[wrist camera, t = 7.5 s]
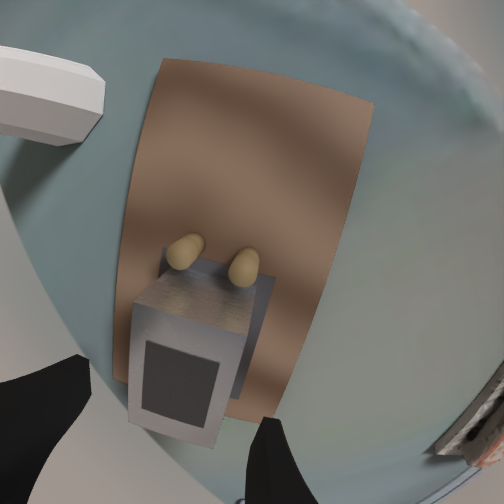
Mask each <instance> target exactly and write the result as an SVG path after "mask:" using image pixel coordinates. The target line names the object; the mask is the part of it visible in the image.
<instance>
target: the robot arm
mask: <svg viewBox="0 0 504 504" xmlns="http://www.w3.org/2000/svg"><path fill="white" fill-rule="evenodd" d="M90 396H91V382H90V368H89V359H87V358H85V357H82V356H80V355H78V354H76V355H74V356H71V357H69V358H67V359H65V360H62V361H60V362H58V363H55V364H53V365H51V366H48V367H46V368H44V369H41V370H39V371H36V372H34V373H31V374H28V375H25V376H22V377H19V378H16V379H13V380H9V381H6V382H1V383H0V504H27V502H28V499H29V496H30V494H31V491H32V489H33V487H34V484H35V482H36V480H37V478H38V476H39V474H40V472H41V470H42V468H43V466H44V464H45V462H46V460H47V458H48V457H49V455H50V453H51V452H52V450H53V449H54V447H55V446H56V444H57V443H58V442H59V440H60V439H61V438H62V436H63V435H64V434H65V433H66V431H67V430H68V429H69V428H70V426H71V425H72V424H73V423H74V421H75V420H76V419H77V417H78V416H79V415H80V413H81V412H82V410H83V409H84V407H85V405H86V404H87V402H88V400H89V398H90ZM239 504H318V502H317V501H316V499H315V498H314V496H313V495H312V493H311V491H310V490H309V488H308V486H307V485H306V483H305V481H304V479H303V477H302V475H301V473H300V471H299V469H298V467H297V465H296V463H295V460H294V458H293V456H292V453H291V451H290V448H289V446H288V443H287V440H286V437H285V434H284V431H283V427H282V424H281V421H280V420H279V419H275V418H270V417H265V416H264V417H263V419H262V421H261V424H260V426H259V428H258V431H257V433H256V435H255V437H254V440H253V442H252V444H251V447H250V452H249V457H248V463H247V468H246V486H245V500H241V501H240V503H239Z"/></svg>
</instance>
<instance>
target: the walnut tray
mask: <svg viewBox="0 0 504 504" xmlns="http://www.w3.org/2000/svg"><path fill="white" fill-rule="evenodd" d="M374 105H375V104H373V103H371V102H368V101H365V100H362V99H359V98H357V97H354V96H351V95H348V94H345V93H342V92H339V91H335V90H332V89H329V88H326V87H322V86H319V85H315V84H312V83H308V82H304V81H300V80H297V79H293V78H289V77H284V76H280V75H276V74H271V73H267V72H262V71H257V70H252V69H246V68H241V67H235V66H229V65H222V64H215V63H208V62H200V61H191V60H180V59H168V58H163V60H162V63H161V66H160V69H159V72H158V76H157V79H156V82H155V85H154V89H153V92H152V95H151V99H150V102H149V106H148V109H147V113H146V117H145V121H144V124H143V128H142V132H141V136H140V141H139V145H138V149H137V154H136V158H135V163H134V168H133V173H132V178H131V183H130V188H129V194H128V199H127V205H126V211H125V218H124V224H123V231H122V239H121V246H120V255H119V264H118V274H117V285H116V298H115V313H114V337H113V379H115V380H118V381H120V382H123V383H125V384H128V378H129V352H130V335H131V321H132V310H133V301H134V300H135V299H136V298H138V297H139V296H140V295H141V294H142V293H143V292H144V291H145V290H146V289H147V288H149V287H150V286H151V285H152V284H153V283H154V282H155V281H156V280H157V279H158V278H160V277H161V276H162V275H163V274H164V273H165V272H166V271H167V270H169V269H170V268H171V267H173V268H174V269H177V270H184V269H186V268H189V269H192V270H196V271H199V272H203V273H206V274H210V275H214V276H217V277H221V278H225V279H228V280H231V282H232V283H233V284H234V285H236V286H238V287H248V286H250V285H251V286H254V287H257V288H256V293H255V299H254V304H253V309H252V315H251V320H250V325H249V331H248V336H247V339H246V343H245V346H244V349H243V353H242V356H241V360H240V363H239V366H238V370H237V373H236V377H235V380H234V383H233V387H232V390H231V393H230V397H229V400H228V403H227V406H226V410H225V413H224V416H228V417H232V418H237V419H241V420H245V421H250V422H254V423H259V424H261V421H262V419H263V417H264V416H265V417H270V418H273V416H274V414H275V411H276V409H277V407H278V405H279V402H280V400H281V398H282V395H283V393H284V391H285V388H286V386H287V384H288V381H289V379H290V376H291V374H292V372H293V369H294V367H295V364H296V362H297V359H298V357H299V354H300V352H301V349H302V346H303V344H304V341H305V339H306V336H307V333H308V331H309V328H310V325H311V323H312V320H313V317H314V315H315V312H316V309H317V306H318V303H319V301H320V298H321V295H322V292H323V289H324V286H325V283H326V280H327V277H328V274H329V271H330V268H331V265H332V262H333V259H334V256H335V253H336V250H337V246H338V243H339V240H340V237H341V234H342V230H343V227H344V224H345V220H346V217H347V213H348V210H349V206H350V203H351V199H352V196H353V192H354V188H355V185H356V181H357V177H358V173H359V169H360V166H361V162H362V158H363V154H364V149H365V145H366V141H367V137H368V132H369V128H370V124H371V119H372V114H373V110H374Z"/></svg>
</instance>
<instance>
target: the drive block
mask: <svg viewBox="0 0 504 504" xmlns="http://www.w3.org/2000/svg"><path fill="white" fill-rule="evenodd" d="M256 288H257V287H254V286H251V285H250V286H248V287H238V286H236V285H234V284H233V283H232V282H231V280H228V279H225V278H221V277H217V276H214V275H210V274H206V273H203V272H199V271H196V270H192V269H189V268H186V269H184V270H177V269H174V268H173V267H171V268H170V269H169V270H167V271H166V272H165V273H164V274H163V275H162V276H161V277H160V278H158V279H157V280H156V281H155V282H154V283H153V284H152V285H151V286H150V287H149V288H147V289H146V290H145V291H144V292H143V293H142V294H141V295H140V296H139V297H138V298H136V299H135V300H134V301H133V310H132V321H131V335H130V352H129V378H128V422H131V423H133V424H136V425H138V426H141V427H144V428H146V429H149V430H152V431H155V432H157V433H160V434H163V435H166V436H169V437H172V438H175V439H179V440H182V441H185V442H189V443H192V444H196V445H199V446H203V447H206V448H210V449H214V445H215V442H216V439H217V436H218V433H219V429H220V426H221V423H222V420H223V416H224V413H225V410H226V406H227V403H228V400H229V397H230V393H231V390H232V387H233V383H234V380H235V377H236V373H237V370H238V366H239V363H240V360H241V356H242V353H243V349H244V346H245V343H246V339H247V336H248V331H249V325H250V320H251V315H252V309H253V304H254V299H255V293H256Z"/></svg>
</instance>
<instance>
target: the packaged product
mask: <svg viewBox="0 0 504 504" xmlns="http://www.w3.org/2000/svg"><path fill="white" fill-rule="evenodd" d="M434 446H435V451H436V454H439V455H463V456H464V459H465V461H466V463H467V465H468V466H469V465H471V466H475V467H478V468H480V469H482V468H486V467H487V466H489V465H491V464H493V463H495V462H497V461H499V460H500V459H501V458H502V457H503V456H504V362H503V364H502V365H501V367H500V368H499V369H498V371H497V372H496V373H495V375H494V376H493V377H492V379H491V380H490V381H489V383H488V384H487V385H486V386H485V388H484V389H483V390H482V391H481V393H480V394H479V395H478V396H477V398H476V399H475V400H474V401H473V402H472V404H471V405H470V406H469V407H468V409H467V410H466V411H465V412H464V413H463V414H462V416H461V417H460V418H459V419H458V420H457V421H456V422H455V423H454V424H453V426H452V427H451V428H450V429H449V430H448V431H447V432H446V433H445V434H444V435H443V436H442V437H441V438H440V439H439V440H438V441H437V442H436V444H435V445H434Z"/></svg>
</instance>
